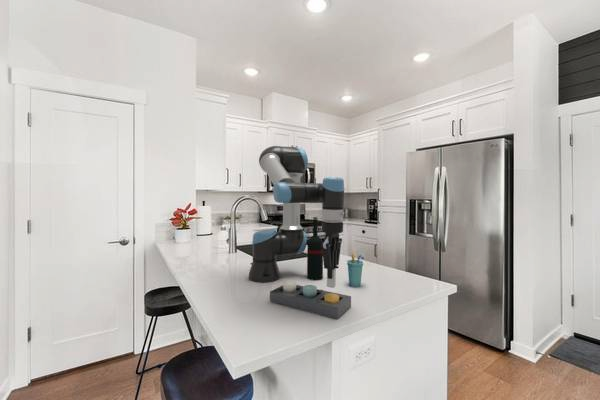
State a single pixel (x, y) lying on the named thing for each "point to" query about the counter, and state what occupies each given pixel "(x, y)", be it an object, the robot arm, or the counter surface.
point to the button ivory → (289, 286)
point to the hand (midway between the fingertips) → (331, 286)
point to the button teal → (310, 291)
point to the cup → (355, 271)
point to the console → (311, 302)
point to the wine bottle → (314, 255)
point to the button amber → (331, 298)
